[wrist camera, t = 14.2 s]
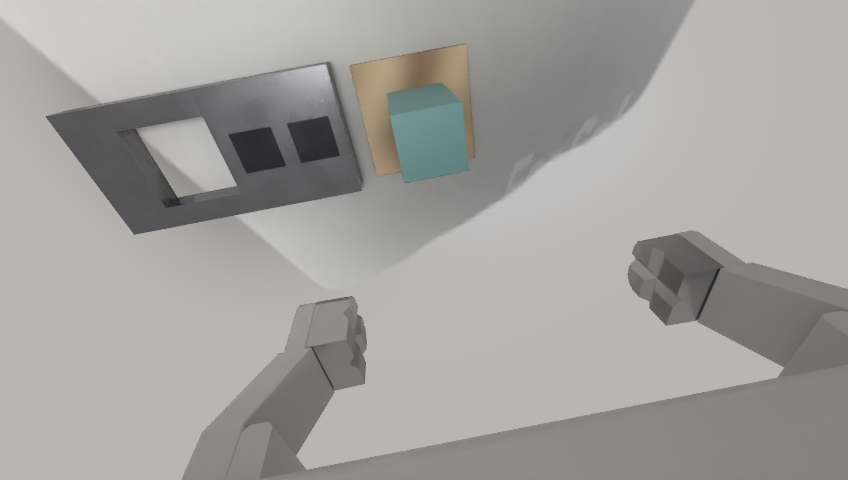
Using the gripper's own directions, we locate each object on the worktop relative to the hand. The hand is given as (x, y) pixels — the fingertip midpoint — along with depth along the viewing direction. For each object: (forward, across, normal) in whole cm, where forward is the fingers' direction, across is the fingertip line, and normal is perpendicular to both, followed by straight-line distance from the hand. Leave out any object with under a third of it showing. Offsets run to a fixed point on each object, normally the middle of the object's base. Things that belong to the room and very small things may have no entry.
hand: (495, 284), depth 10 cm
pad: (+22, 0, 0) cm, 22 cm away
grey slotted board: (+22, +16, 0) cm, 27 cm away
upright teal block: (+22, 0, 0) cm, 22 cm away
